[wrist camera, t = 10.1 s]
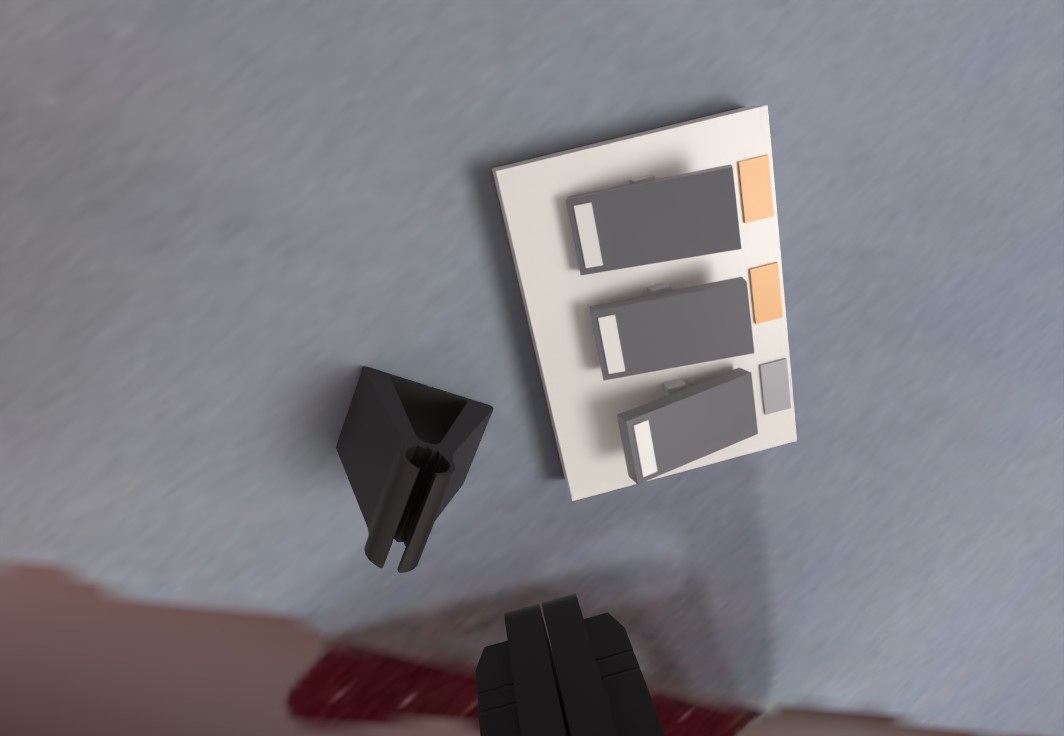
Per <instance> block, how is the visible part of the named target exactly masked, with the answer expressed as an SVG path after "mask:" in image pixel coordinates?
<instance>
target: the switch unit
mask: <svg viewBox="0 0 1064 736" xmlns="http://www.w3.org/2000/svg"><path fill="white" fill-rule="evenodd" d="M730 164H731V165H732V167H733V176H734V185H735V194H736V203H737V212H738V222H739V231H740V240H741V249H739V250H733V251H727V252H720V253H714V254H708V255H702V256H696V257H690V258H684V259H678V260H672V261H666V262H660V263H654V264H647V265H641V266H635V267H629V268H623V269H617V270H611V271H605V272H599V273H593V274H587V275H580V270H579V265H578V260H577V255H576V250H575V245H574V240H573V235H572V230H571V225H570V220H569V215H568V210H567V205H566V199H567V198H568V197H569V196H573V195H578V194H583V193H588V192H593V191H599V190H604V189H609V188H614V187H619V186H624V185H629V184H634V183H639V182H644V181H649V180H654V179H659V178H664V177H669V176H674V175H679V174H684V173H689V172H694V171H699V170H704V169H709V168H714V167H719V166H725V165H730ZM492 172H493V176H494V180H495V184H496V189H497V193H498V197H499V201H500V206H501V210H502V214H503V218H504V223H505V227H506V231H507V235H508V240H509V244H510V248H511V252H512V257H513V261H514V265H515V269H516V274H517V278H518V282H519V286H520V291H521V295H522V299H523V303H524V308H525V312H526V316H527V320H528V325H529V329H530V333H531V338H532V342H533V346H534V350H535V355H536V359H537V363H538V367H539V372H540V376H541V380H542V384H543V389H544V393H545V397H546V401H547V406H548V410H549V414H550V418H551V423H552V427H553V431H554V435H555V440H556V444H557V448H558V452H559V457H560V461H561V465H562V469H563V474H564V478H565V481H566V484H567V487H568V489H569V492H570V495H571V498H572V500H573V501H575V500H578V499H582V498H586V497H590V496H593V495H597V494H601V493H604V492H608V491H612V490H616V489H619V488H623V487H627V486H630V485H634V484H637V483H636V482H635V481H633V480H632V479H631V478H630V477H629V476H628V471H627V466H626V460H625V455H624V450H623V445H622V440H621V435H620V430H619V425H618V419H617V415H618V414H620V413H623V412H625V411H628V410H630V409H633V408H636V407H638V406H641V405H643V404H646V403H649V402H651V401H654V400H656V399H659V398H662V397H664V396H667V395H669V394H672V393H674V392H677V391H680V390H682V389H685V388H687V387H690V386H693V385H695V384H698V383H700V382H703V381H706V380H708V379H711V378H713V377H716V376H718V375H721V374H724V373H726V372H729V371H731V370H734V369H737V368H742V369H744V370H746V371H749V372H751V374H752V383H753V392H754V401H755V410H756V419H757V428H758V434H757V435H754V436H752V437H750V438H747V439H745V440H742V441H740V442H738V443H735V444H733V445H731V446H728V447H726V448H723V449H721V450H719V451H716V452H714V453H712V454H709V455H707V456H704V457H702V458H700V459H697V460H695V461H693V462H690V463H688V464H685V465H683V466H681V467H678V468H676V469H674V470H671V471H669V472H667V473H664V474H662V475H659V476H657V477H655V478H652V479H650V480H653V479H656V478H660V477H664V476H668V475H671V474H675V473H679V472H682V471H686V470H690V469H694V468H697V467H701V466H705V465H708V464H712V463H716V462H719V461H723V460H727V459H731V458H734V457H738V456H742V455H745V454H749V453H753V452H757V451H760V450H764V449H768V448H771V447H775V446H779V445H783V444H786V443H790V442H794V441H797V436H796V425H795V413H794V402H793V390H792V379H791V368H790V356H789V345H788V333H787V322H786V310H785V299H784V287H783V276H782V265H781V253H780V242H779V230H778V219H777V207H776V196H775V184H774V173H773V162H772V150H771V139H770V127H769V116H768V105H764V106H751V107H743V108H739V109H734V110H730V111H726V112H722V113H718V114H714V115H710V116H706V117H702V118H697V119H693V120H689V121H685V122H681V123H677V124H673V125H669V126H664V127H660V128H656V129H652V130H648V131H644V132H640V133H636V134H632V135H627V136H623V137H619V138H615V139H611V140H607V141H603V142H599V143H594V144H590V145H586V146H582V147H578V148H574V149H570V150H566V151H561V152H557V153H553V154H549V155H545V156H541V157H537V158H533V159H529V160H524V161H520V162H516V163H512V164H508V165H504V166H500V167H496V168H492ZM737 277H743V278H744V279H745V280H746V282H747V288H748V298H749V307H750V316H751V325H752V335H753V344H754V353H753V354H747V355H742V356H736V357H731V358H725V359H720V360H714V361H709V362H703V363H698V364H692V365H687V366H681V367H676V368H670V369H665V370H659V371H654V372H648V373H643V374H637V375H632V376H626V377H621V378H615V379H610V380H604V381H603V376H602V371H601V366H600V361H599V356H598V351H597V346H596V341H595V336H594V331H593V326H592V321H591V316H590V308H589V307H590V306H595V305H600V304H605V303H610V302H615V301H620V300H625V299H630V298H635V297H641V296H646V295H651V294H656V293H661V292H666V291H671V290H676V289H681V288H686V287H691V286H696V285H702V284H707V283H712V282H717V281H722V280H727V279H732V278H737ZM648 481H649V480H648Z"/></svg>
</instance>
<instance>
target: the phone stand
mask: <svg viewBox="0 0 1064 736" xmlns="http://www.w3.org/2000/svg"><path fill="white" fill-rule="evenodd" d="M492 411H493V407H492V406H490V405H487V404H484V403H481V402H478V401H474V400H471V399H468V398H465V397H462V396H459V395H455V394H452V393H449V392H446V391H443V390H439V389H436V388H433V387H432V388H430V387H428V386H427V385H424V384H420V383H417V382H414V381H411V380H408V379H404V378H401V377H398V376H395V375H392V374H389V373H385V372H382V371H379V370H376V369H373V368H369V367H363V369H362V372H361V375H360V378H359V381H358V384H357V387H356V390H355V393H354V396H353V399H352V402H351V405H350V408H349V411H348V414H347V417H346V420H345V423H344V426H343V429H342V432H341V435H340V437H339V440H338V443H337V446H336V449H337V451H338V454H339V456H340V459H341V461H342V464H343V466H344V469H345V471H346V474H347V476H348V479H349V481H350V484H351V487H352V489H353V492H354V494H355V497H356V499H357V502H358V504H359V507H360V509H361V512H362V514H363V517H364V519H365V522H366V524H367V527H368V531H369V537H368V539H367V542H366V545H365V554H366V556H367V557H368V559H369V560H370V561H371V562H372V563H373V564H375V565H376V566H378V567H380V568H382V567H383V566H384V563H385V560H386V558H387V555H388V552H389V550H390V547H391V545H392V542H393V539H395V540H396V541H397V542H404V544H405V546H406V548H405V551H404V553H403V556H402V558H401V561H400V564H399V566H398V572H399V573H403V572H408V571H411V570H413V569H414V568H415V567H416V566H417V565H418V562H419V560H420V557H421V555H422V552H423V549H424V547H425V544H426V542H427V539H428V537H429V534H430V532H431V529H432V527H433V524H434V522H435V520H436V519H437V518H438V516H439V515H440V514H441V512H442V511H443V510H444V508H445V507H446V506H447V504H448V503H449V502H450V500H451V499H452V498H453V497H454V495H455V494H456V493H457V491H458V490H459V489H460V487H461V486H462V485H463V483H464V481H465V478H466V476H467V473H468V471H469V468H470V466H471V463H472V461H473V458H474V456H475V453H476V451H477V448H478V446H479V443H480V441H481V438H482V436H483V433H484V431H485V428H486V426H487V423H488V421H489V419H490V416H491V414H492Z"/></svg>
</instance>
